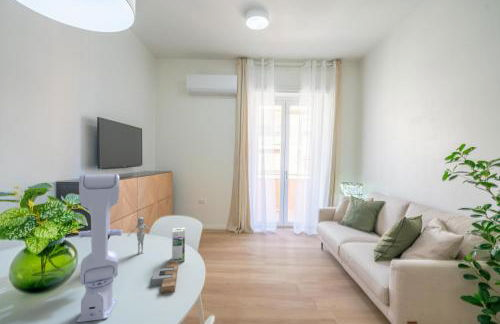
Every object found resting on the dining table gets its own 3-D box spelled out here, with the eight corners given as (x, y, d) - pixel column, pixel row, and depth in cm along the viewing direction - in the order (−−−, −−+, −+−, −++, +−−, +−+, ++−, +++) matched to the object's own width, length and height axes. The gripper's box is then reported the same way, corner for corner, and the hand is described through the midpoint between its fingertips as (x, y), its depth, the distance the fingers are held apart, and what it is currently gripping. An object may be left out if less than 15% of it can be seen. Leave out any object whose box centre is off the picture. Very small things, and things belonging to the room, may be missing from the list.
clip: (171, 283, 89) (171, 277, 89) (152, 285, 87) (152, 279, 87) (173, 273, 97) (173, 267, 97) (155, 275, 95) (155, 269, 95)
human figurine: (127, 256, 111) (128, 219, 110) (126, 254, 114) (126, 218, 114) (153, 251, 118) (154, 216, 118) (152, 248, 121) (152, 214, 121)
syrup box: (171, 262, 106) (172, 231, 106) (172, 257, 112) (172, 227, 111) (184, 261, 108) (185, 230, 107) (184, 256, 113) (185, 226, 113)
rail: (174, 292, 84) (174, 285, 84) (161, 293, 83) (161, 286, 82) (178, 266, 103) (178, 260, 103) (167, 267, 102) (167, 261, 102)
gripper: (124, 216, 95) (124, 249, 95) (84, 217, 91) (84, 251, 91) (119, 221, 88) (119, 256, 88) (75, 222, 84) (75, 259, 85)
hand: (100, 254), depth 89 cm, fingers closed
